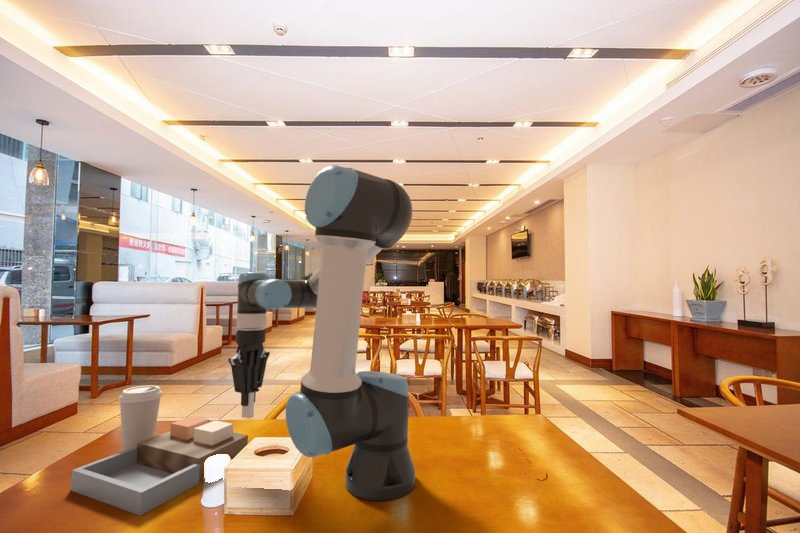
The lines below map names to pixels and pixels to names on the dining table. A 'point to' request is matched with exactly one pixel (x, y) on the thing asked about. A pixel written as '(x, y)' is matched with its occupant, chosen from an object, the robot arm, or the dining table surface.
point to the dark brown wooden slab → (184, 452)
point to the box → (131, 482)
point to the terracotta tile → (186, 427)
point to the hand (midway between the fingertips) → (247, 416)
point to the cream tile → (213, 432)
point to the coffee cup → (139, 414)
